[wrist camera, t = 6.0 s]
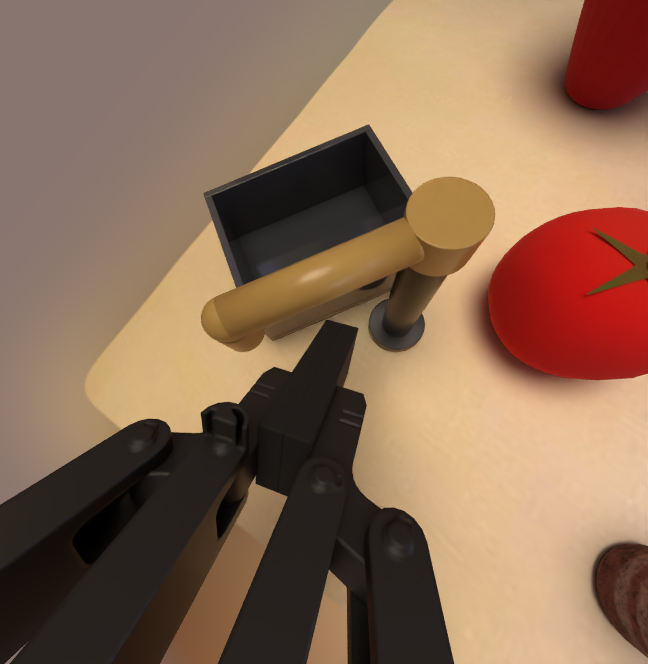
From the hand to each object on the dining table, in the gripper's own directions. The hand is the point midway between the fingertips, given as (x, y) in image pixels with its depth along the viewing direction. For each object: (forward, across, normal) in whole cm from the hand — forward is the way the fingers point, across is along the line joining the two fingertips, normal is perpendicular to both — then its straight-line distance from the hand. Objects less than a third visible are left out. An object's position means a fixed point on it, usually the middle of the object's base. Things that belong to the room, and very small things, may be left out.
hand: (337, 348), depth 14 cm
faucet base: (+13, +3, -5) cm, 14 cm away
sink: (+17, -6, -1) cm, 17 cm away
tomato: (+16, +15, -2) cm, 22 cm away
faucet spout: (+2, -1, +2) cm, 3 cm away
